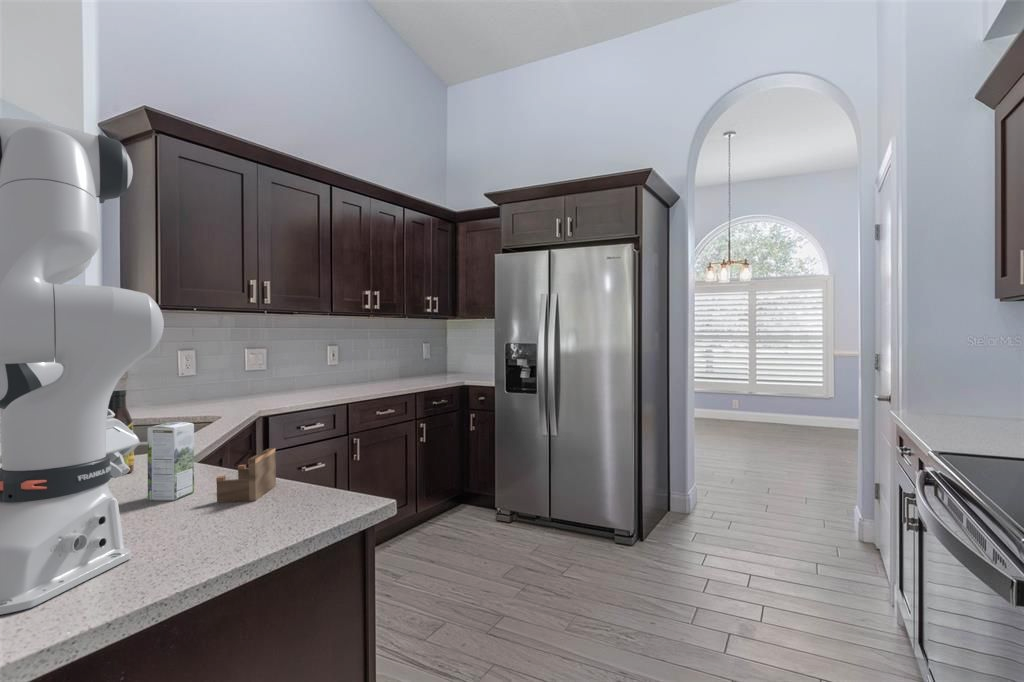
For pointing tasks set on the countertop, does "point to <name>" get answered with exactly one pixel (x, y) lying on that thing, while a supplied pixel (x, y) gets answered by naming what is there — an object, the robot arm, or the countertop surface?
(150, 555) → the countertop surface
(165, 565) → the countertop surface
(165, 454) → the syrup box
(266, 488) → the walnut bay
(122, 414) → the sauce bottle
